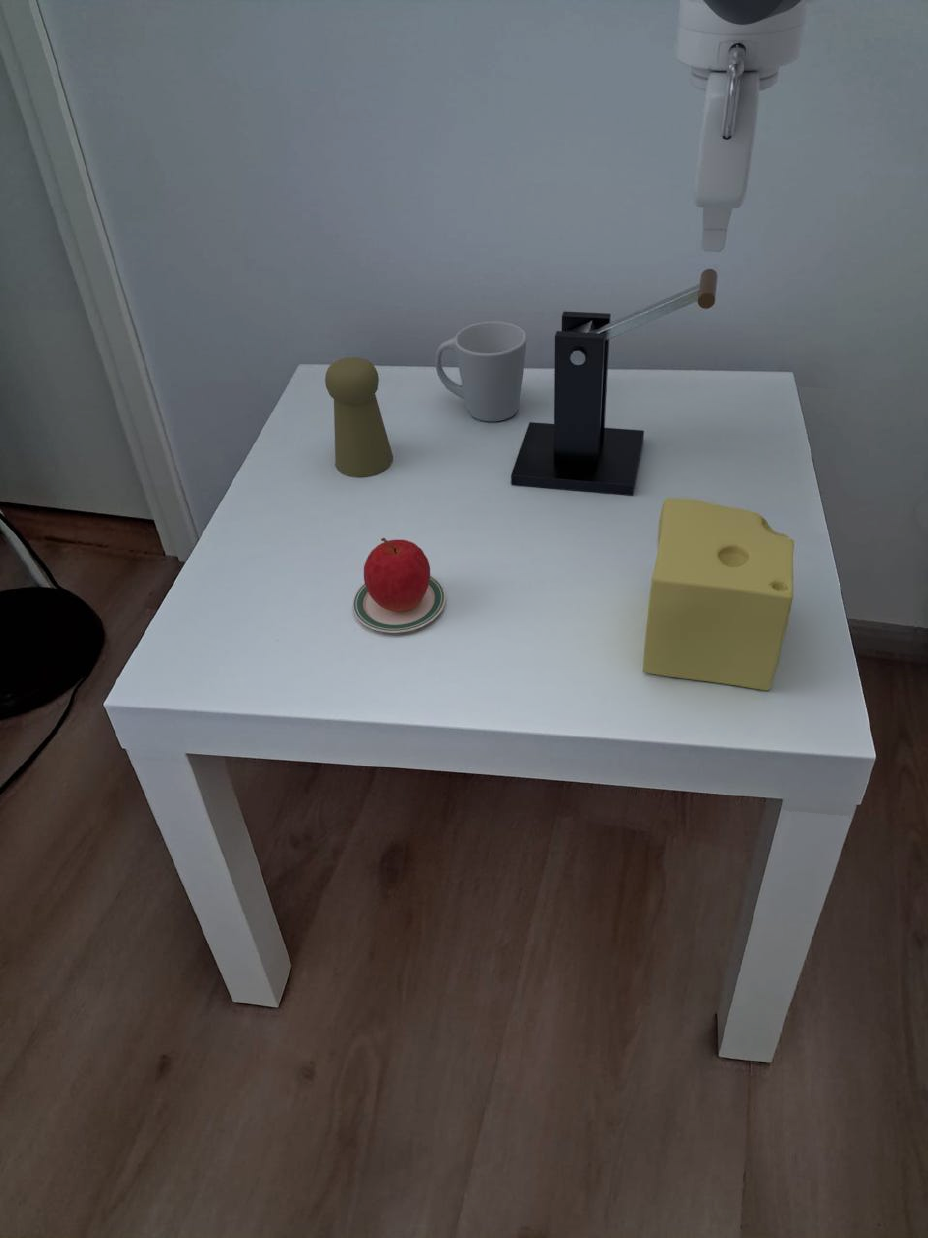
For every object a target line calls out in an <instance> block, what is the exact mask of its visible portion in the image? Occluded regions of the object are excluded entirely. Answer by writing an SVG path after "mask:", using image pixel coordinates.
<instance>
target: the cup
mask: <svg viewBox="0 0 928 1238" xmlns="http://www.w3.org/2000/svg"><path fill="white" fill-rule="evenodd" d="M527 337H528V336H527V334H526V332H525V330H523V329H522V327H520V326H519V325H516V324H513V323H509V322H505V321H482V322H477V323H473V324H470V325H468V326H465V327H463V328H462V329H460V330H459V331H458V332H457V333H456V335H455V337H452V338H450V339H447V340H446V341H443V342H442V343H441V344H440V345H439V346H438V348H437V349H436V352H435V358H434V365H435V366H434V367H435V370H436V374H437V376H438V378H439V380H440V382H441V384H443V386H444V387H445V388H446V389H447V390H448V391H449V392H451V393H452V394H453V395H455V396H456V397H458V398H461V399H462V400H464V401H465V404H466V407H467V408H466V409H467V412H468V413H469V415H470V416H471V417H473V418H474V419H476V420H479V421H483V422H493V423H494V422H501V421H506V420H507V419H510V418H512V417H513V416H515V414H517V413H518V411H519V408H520V402H521V401H520V400H521V393H522V387H523V378H524V371H525V360H526V350H527ZM446 350H451V351H453V352H454V353H455V355H456V360H457V365H458V370H459V371H458V372H459V376H460V380H461V384H459V383H456V382H455V381H453V380H452V379H451V378H449V376H447V374H446V372H445V371H444V368H443V366H442V359H441V358H442V354H443V352H444V351H446Z"/></svg>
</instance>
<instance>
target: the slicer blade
mask: <svg viewBox="0 0 928 1238" xmlns="http://www.w3.org/2000/svg"><path fill="white" fill-rule="evenodd" d="M717 284H718V273H717V271H716V270H715V269H713V268H706V269H704V270H703V271H702V272H701V274H700V277H699V283H698V284H696V285H694V286H691V287H689V288H687V289H684V290H682V291H680V292H678V293H675V294H672V295H671V296H669V297H667V298H664V299H662V300H660V301H657V302H655V303H652V304H651V305H648V306H646V307H644V308H641V309H639V310H637V311H635V312H632V313H630V314H628V315H626V316H623V317H621V318H619V319H616V320H614V321H611V322H610V323H609V324H607V325H605V326H602V327H600V328H598V329H596V327H595V325H594V323H593V321H590V322H588V323H585V324H583V325H581V326H579V327H576V328H574V329H572V330H570V331H567V332H585V333H603V334H605V341H606V340H608V339H609V340H610V339H613V338H615V337H617V336H619V335H622V334H624V333H627V332H629V331H632V330H633V329H636V328H638V327H640V326H643V325H645V324H648V323H650V322H652V321H654V320H657V319H659V318H662V317H664V316H666V315H668V314H670V313H673V312H676V311H678V310H681V309H682V308H685V307H687V306H689V305H692V304H693V303H696V302H697V304H698V306H699V307H700V308H701V309H704V310H707V309H710V308H712V307H713V306H714V305H715V303H716V298H717V297H716V296H717V287H718V285H717Z"/></svg>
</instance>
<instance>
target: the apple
mask: <svg viewBox="0 0 928 1238" xmlns="http://www.w3.org/2000/svg"><path fill="white" fill-rule="evenodd" d="M380 541H381V543H380V544H378V545H377V546H376V547H374V548H373V549H372V550H371V551H370V552H369V554H368V556H367V558H366V560H365V562H364V564H363V583H362V584H361V585H360V586H359V587H358V589H357V590H356V592H355V593H354V596H353V599H352V610H353V613H354V616H355V617H356V619H357V620H358V621H359V622H360V623H361V624H363V625H364V626H365V627H367V628H369V629H371V630H374V631H376V632H377V631H378V632H382V633H387V634H388V633H390V634H395V633H396V634H398V633H399V634H400V633H407V632H411V631H415V630H417V629H421V628H422V627H425V626H427V625H428V624H430V623H431V622H433V621H434V620H436V619H437V617H438V616H439V615H440V614H441V613H442V611H443V609H444V607H445V605H446V598H447V597H446V591H445V588H444V586H443V584H442V583H441V582H440V581H439V580H438V579H437V578H435V577H434V576H432V575H431V565H430V562H429V559H428V557H427V556H426V554H425V553H424V551H423V550H422V548H421V547H419V546H418V545H417V544H416V543H415V542H412V541H409V540H407V539H389V540H387V539H386V537H382V538H380Z"/></svg>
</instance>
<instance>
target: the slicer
mask: <svg viewBox="0 0 928 1238" xmlns="http://www.w3.org/2000/svg"><path fill="white" fill-rule="evenodd" d="M611 315H612V314H611V313H605V312H603V313H602V312H588V311H587V312H583V311H567V310H566V311H565V310H564V311H562V315H561V330H556V331H555V334H554V375H553V377H554V379H553V381H554V383H553V386H554V387H553V389H554V391H553V392H554V393H553V398H554V399H553V404H554V405H553V423H549V422H547V423H546V422H536V421H535V422H533V421H529V423H528V426H527V428H526V431H525V433H524V437H523V439H522V443H521V445H520V448H519V451H518V455H517V458H516V460H515V463H514V466H513V468H512V470H511V471H512V472H511V474H510V482H511V483H510V484H511V486H521V487H531V488H532V487H533V488H542V489H543V488H544V489H554V490H564V491H566V490H567V491H577V492H588V493H599V494H609V495H621V496H632V497H633V496H634V494H635V489H636V484H637V483H636V482H637V478H638V477H637V476H638V471H639V466H640V461H641V455H642V450H643V445H644V437H645V431H644V430H642V429H629V428H615V427H606V414H607V412H606V411H607V393H608V373H609V355H610V354H609V353H610V339H608V340H606V341H605V334H603V333H585V332H567V331H570V330H572V329H574V328H576V327H579V326H581V325H583V324H585V323H588V322H590V321H593V323H594V325H595V327H596V329H598V328H600V327H602V326H605V325H607V324H609V323H611V318H612V317H611Z"/></svg>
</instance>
